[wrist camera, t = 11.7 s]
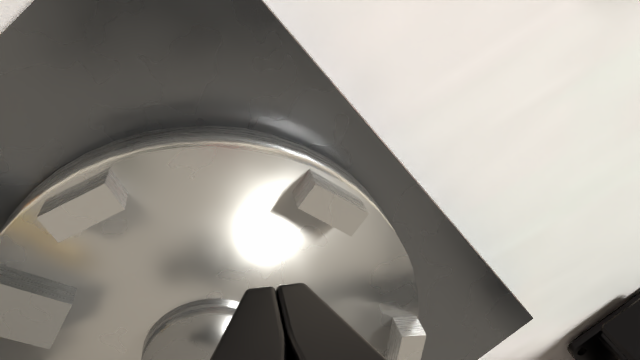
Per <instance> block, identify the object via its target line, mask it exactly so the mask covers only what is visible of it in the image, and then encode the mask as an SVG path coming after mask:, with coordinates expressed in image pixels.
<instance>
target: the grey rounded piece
mask: <svg viewBox="0 0 640 360" xmlns="http://www.w3.org/2000/svg"><path fill="white" fill-rule="evenodd" d="M294 283H304V284H306V285H307V286H308V287H309V288H310V289H311V290H313V291H314V292H315V293H316V294H317V295H318V296H319V297H320V298H321V299H322V300H323V301H324V302H326V303H327V304H328V305H329V306H330V307H331V308H332V309H333V310H334V311H335V312H336V313H337V314H339V315H340V316H341V317H342V318H343V319H344V320H345V321H346V322H347V323H348V324H349V325H350V326H351V327H353V328H354V329H355V330H356V331H357V332H358V333H359V334H360V335H361V336H362V337H363V338H364V339H366V340H367V341H368V342H369V343H370V344H371V345H372V346H373V347H374V348H375V349H376V350H377V351H379V352H380V353H381V354H382V355H383V356H384V357H385V358H386V359H387V360H421V356H422V352H423V348H424V344H425V340H426V333H425V331H424V330H423V328H422V326H421V324H420V322H419V320H418V291H417V285H416V280H415V274H414V271H413V268H412V266H411V263H410V260H409V257H408V254H407V252H406V250H405V248H404V247H403V245H402V243H401V241H400V239H399V238H398V236H397V234H396V232H395V231H394V229H393V227H392V226H391V224H390V223H389V221H388V219H387V218H386V216H385V214H384V213H383V211H382V210H381V208H380V206H379V205H378V204H377V203H376V201H375V200H374V199H373V197H372V196H371V195H370V194H369V192H368V191H367V190H366V189H365V188H364V187H363V186H362V185H361V184H360V183H359V182H358V181H357V180H356V179H355V178H354V177H353V176H352V175H351V174H350V173H348V172H347V171H346V170H345V169H343V168H342V167H340V166H339V165H337V164H336V163H334V162H333V161H332V160H330V159H329V158H327V157H326V156H324V155H322V154H320V153H318V152H316V151H314V150H312V149H310V148H308V147H306V146H304V145H302V144H300V143H297V142H294V141H291V140H288V139H285V138H283V137H280V136H277V135H274V134H269V133H265V132H260V131H255V130H251V129H246V128H237V127H226V126H214V125H207V126H180V127H173V128H167V129H160V130H154V131H147V132H144V133H140V134H137V135H133V136H130V137H126V138H123V139H119V140H116V141H113V142H111V143H109V144H106V145H104V146H102V147H99V148H97V149H95V150H92V151H90V152H87V153H85V154H84V155H82V156H80V157H78V158H77V159H75V160H73V161H72V162H70V163H68V164H67V165H65V166H63V167H62V168H60V169H58V170H57V171H56V172H54V173H53V174H52V175H51V176H49V177H48V178H47V179H46V180H44V181H43V182H42V183H41V184H39V185H38V186H37V187H35V188H34V189H33V190H32V192H31V193H30V194H29V195H28V196H27V197H26V198H25V199H24V200H23V201H22V202H21V203H20V204H19V205H18V206H17V207H16V209H15V210H14V211H13V213H12V214H11V216H10V217H9V218H8V220H7V221H6V223H5V224H4V226H3V227H2V229H1V230H0V360H210V358H211V356H212V354H213V352H214V351H215V349H216V347H217V345H218V343H219V341H220V339H221V337H222V335H223V333H224V331H225V329H226V327H227V325H228V323H229V322H230V320H231V318H232V316H233V314H234V312H235V310H236V308H237V306H238V304H239V302H240V300H241V298H242V296H243V294H244V293H245V291H246V290H247V289H250V288H258V287H267V286H272V287H274V288H275V290H276V288H277V287H278V286H279V285H285V284H294Z"/></svg>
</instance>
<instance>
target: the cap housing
mask: <svg viewBox="0 0 640 360" xmlns="http://www.w3.org/2000/svg"><path fill="white" fill-rule="evenodd" d="M207 125H214V126H226V127H237V128H246V129H251V130H255V131H260V132H265V133H269V134H274V135H277V136H280V137H283V138H285V139H288V140H291V141H294V142H297V143H300V144H302V145H304V146H306V147H308V148H310V149H312V150H314V151H316V152H318V153H320V154H322V155H324V156H326V157H327V158H329V159H330V160H332V161H333V162H334V163H336V164H337V165H339V166H340V167H342V168H343V169H345V170H346V171H347V172H348V173H350V174H351V175H352V176H353V177H354V178H355V179H356V180H357V181H358V182H359V183H360V184H361V185H362V186H363V187H364V188H365V189H366V190H367V191H368V192H369V194H370V195H371V196H372V197H373V199H374V200H375V201H376V203H377V204H378V205H379V206H380V208H381V210H382V211H383V213H384V214H385V216H386V218H387V219H388V221H389V223H390V224H391V226H392V227H393V229H394V231H395V232H396V234H397V236H398V238H399V239H400V241H401V243H402V245H403V247H404V248H405V250H406V252H407V254H408V257H409V260H410V263H411V266H412V268H413V271H414V274H415V280H416V285H417V291H418V320H419V322H420V324H421V326H422V328H423V330H424V331H425V333H426V340H425V344H424V348H423V352H422V356H421V360H478V359H479V358H480V357H482V356H483V355H484V354H486V353H487V352H488V351H490V350H491V349H492V348H494V347H495V346H497V345H498V344H499V343H501V342H502V341H503V340H505V339H506V338H507V337H509V336H510V335H511V334H513V333H514V332H516V331H517V330H518V329H520V328H521V327H522V326H524V325H525V324H526V323H528V322H529V321H530V320H532V319H533V317H532V316H531V315H530V314H529V312H528V311H527V310H526V309H525V308H524V306H523V305H522V304H521V303H520V301H519V300H518V299H517V298H516V297H515V295H514V294H513V293H512V292H511V291H510V290H509V288H508V287H507V286H506V285H505V284H504V283H503V281H502V280H501V279H500V278H499V277H498V276H497V274H496V273H495V272H494V271H493V270H492V268H491V267H490V266H489V265H488V264H487V263H486V261H485V260H484V259H483V258H482V257H481V256H480V254H479V253H478V252H477V251H476V250H475V249H474V247H473V246H472V245H471V244H470V243H469V241H468V240H467V239H466V238H465V237H464V236H463V234H462V233H461V232H460V231H459V230H458V229H457V227H456V226H455V225H454V224H453V223H452V222H451V220H450V219H449V218H448V217H447V216H446V215H445V213H444V212H443V211H442V210H441V209H440V207H439V206H438V205H437V204H436V203H435V202H434V200H433V199H432V198H431V197H430V196H429V195H428V193H427V192H426V191H425V190H424V189H423V188H422V186H421V185H420V184H419V183H418V182H417V181H416V179H415V178H414V177H413V176H412V175H411V173H410V172H409V171H408V170H407V169H406V168H405V166H404V165H403V164H402V163H401V162H400V161H399V159H398V158H397V157H396V156H395V155H394V154H393V152H392V151H391V150H390V149H389V148H388V147H387V145H386V144H385V143H384V142H383V141H382V139H381V138H380V137H379V136H378V135H377V134H376V132H375V131H374V130H373V129H372V128H371V127H370V125H369V124H368V123H367V122H366V121H365V120H364V118H363V117H362V116H361V115H360V114H359V113H358V111H357V110H356V109H355V108H354V107H353V105H352V104H351V103H350V102H349V101H348V100H347V98H346V97H345V96H344V95H343V94H342V93H341V91H340V90H339V89H338V88H337V87H336V86H335V84H334V83H333V82H332V81H331V80H330V78H329V77H328V76H327V75H326V74H325V73H324V71H323V70H322V69H321V68H320V67H319V66H318V64H317V63H316V62H315V61H314V60H313V59H312V57H311V56H310V55H309V54H308V53H307V52H306V50H305V49H304V48H303V47H302V46H301V44H300V43H299V42H298V41H297V40H296V39H295V37H294V36H293V35H292V34H291V33H290V32H289V30H288V29H287V28H286V27H285V26H284V25H283V23H282V22H281V21H280V20H279V19H278V18H277V16H276V15H275V14H274V13H273V12H272V10H271V9H270V8H269V7H268V6H267V5H266V3H265V2H264V1H263V0H35V1H34V2H33V3H32V4H31V5H30V6H29V7H28V8H27V9H26V10H25V11H24V12H23V13H22V14H21V15H20V16H19V17H18V18H17V19H16V20H15V21H14V22H13V23H12V24H11V25H10V26H9V27H8V28H7V29H6V30H5V31H4V32H3V33H2V34H1V35H0V230H1V229H2V227H3V226H4V224H5V223H6V221H7V220H8V218H9V217H10V216H11V214H12V213H13V211H14V210H15V209H16V207H17V206H18V205H19V204H20V203H21V202H22V201H23V200H24V199H25V198H26V197H27V196H28V195H29V194H30V193H31V192H32V190H33V189H34V188H35V187H37V186H38V185H39V184H41V183H42V182H43V181H44V180H46V179H47V178H48V177H49V176H51V175H52V174H53V173H54V172H56V171H57V170H58V169H60V168H62V167H63V166H65V165H67V164H68V163H70V162H72V161H73V160H75V159H77V158H78V157H80V156H82V155H84V154H85V153H87V152H90V151H92V150H95V149H97V148H99V147H102V146H104V145H106V144H109V143H111V142H113V141H116V140H119V139H123V138H126V137H130V136H133V135H137V134H140V133H144V132H147V131H154V130H160V129H167V128H173V127H180V126H207Z"/></svg>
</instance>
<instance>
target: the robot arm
mask: <svg viewBox="0 0 640 360" xmlns="http://www.w3.org/2000/svg"><path fill="white" fill-rule="evenodd" d="M568 351H569V352H570V354H571V355H572V356H573V357H574V358H575V360H640V293H639V294H638V295H637V296H635V297H634V298H632V299H631V300H630V301H628V302H627V303H625V304H624V305H623V306H621V307H620V308H618V309H617V310H616V311H614V312H613V313H612V314H610V315H609V316H607V317H606V318H605V319H603V320H602V321H600V322H599V323H598V324H596V325H595V326H593V327H592V328H591V329H589V330H588V331H586V332H585V333H584V334H582V335H581V336H580V337H578V338H577V339H575V340H574V341H573V342H572V343H571V344H570V345H569V347H568ZM210 360H387V359H386V358H385V357H384V356H383V355H382V354H381V353H380V352H379V351H377V350H376V349H375V348H374V347H373V346H372V345H371V344H370V343H369V342H368V341H367V340H366V339H364V338H363V337H362V336H361V335H360V334H359V333H358V332H357V331H356V330H355V329H354V328H353V327H351V326H350V325H349V324H348V323H347V322H346V321H345V320H344V319H343V318H342V317H341V316H340V315H339V314H337V313H336V312H335V311H334V310H333V309H332V308H331V307H330V306H329V305H328V304H327V303H326V302H324V301H323V300H322V299H321V298H320V297H319V296H318V295H317V294H316V293H315V292H314V291H313V290H311V289H310V288H309V287H308V286H307V285H306V284H304V283H294V284H285V285H279V286H278V287H277V288H276V290H275V288H274V287H272V286H267V287H258V288H250V289H247V290H246V291H245V293H244V294H243V296H242V298H241V300H240V302H239V304H238V306H237V308H236V310H235V312H234V314H233V316H232V318H231V320H230V322H229V323H228V325H227V327H226V329H225V331H224V333H223V335H222V337H221V339H220V341H219V343H218V345H217V347H216V349H215V351H214V352H213V354H212V356H211V358H210Z"/></svg>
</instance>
